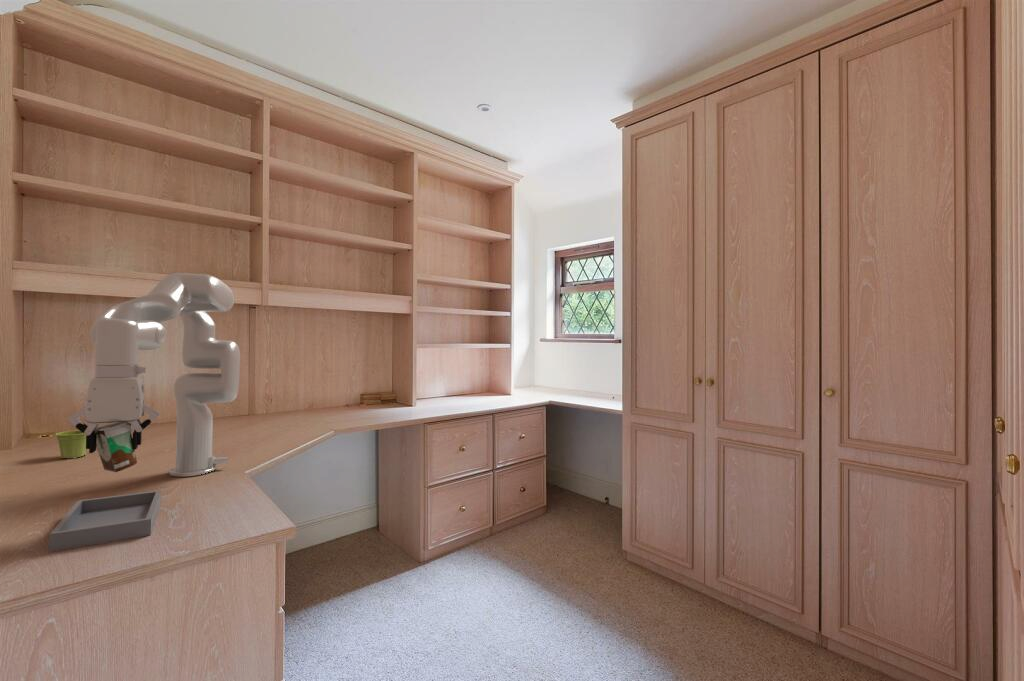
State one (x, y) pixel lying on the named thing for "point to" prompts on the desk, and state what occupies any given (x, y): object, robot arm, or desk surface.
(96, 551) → the desk surface
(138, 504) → the parts tray
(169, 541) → the desk surface
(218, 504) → the desk surface
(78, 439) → the plant pot
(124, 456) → the food container
